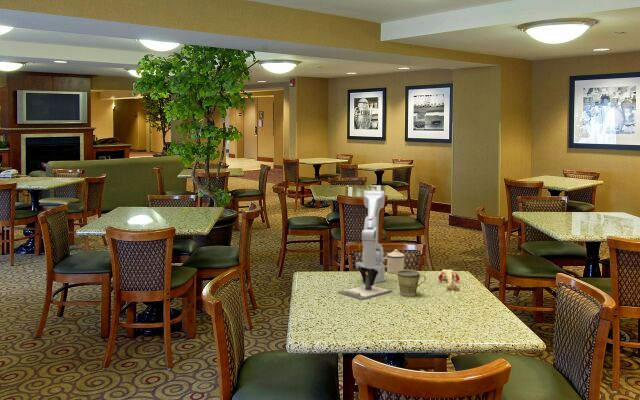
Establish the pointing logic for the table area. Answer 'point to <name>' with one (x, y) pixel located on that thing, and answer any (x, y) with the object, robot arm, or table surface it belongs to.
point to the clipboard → (364, 292)
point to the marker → (367, 281)
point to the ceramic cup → (409, 281)
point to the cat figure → (449, 279)
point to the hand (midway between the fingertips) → (368, 284)
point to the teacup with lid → (394, 261)
